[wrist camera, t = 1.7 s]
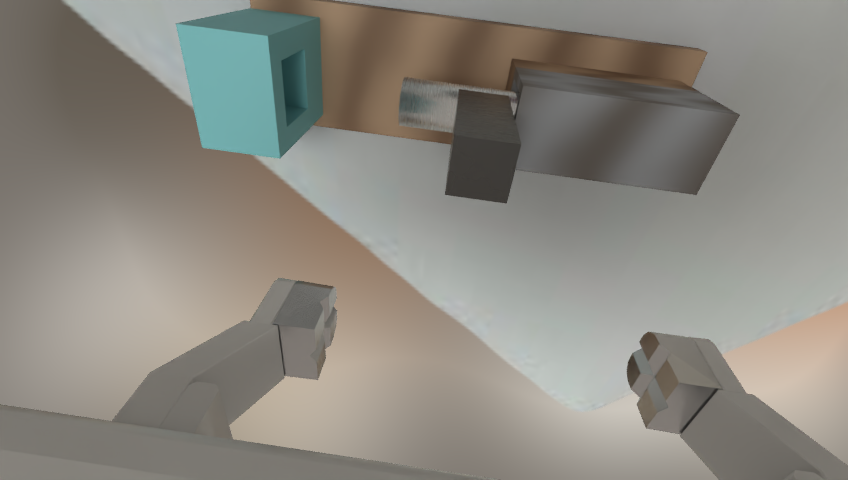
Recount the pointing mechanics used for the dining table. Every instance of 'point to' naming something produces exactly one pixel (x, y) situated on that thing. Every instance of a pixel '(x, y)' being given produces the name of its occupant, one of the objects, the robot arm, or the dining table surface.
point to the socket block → (253, 79)
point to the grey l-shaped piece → (468, 133)
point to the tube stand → (527, 90)
